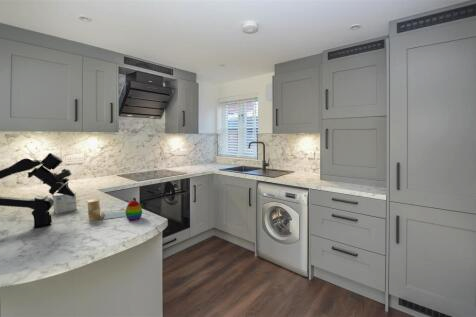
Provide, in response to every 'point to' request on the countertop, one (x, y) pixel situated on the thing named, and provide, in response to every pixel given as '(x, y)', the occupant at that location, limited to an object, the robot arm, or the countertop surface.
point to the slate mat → (112, 215)
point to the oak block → (93, 209)
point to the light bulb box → (64, 202)
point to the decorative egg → (133, 210)
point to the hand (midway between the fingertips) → (74, 195)
